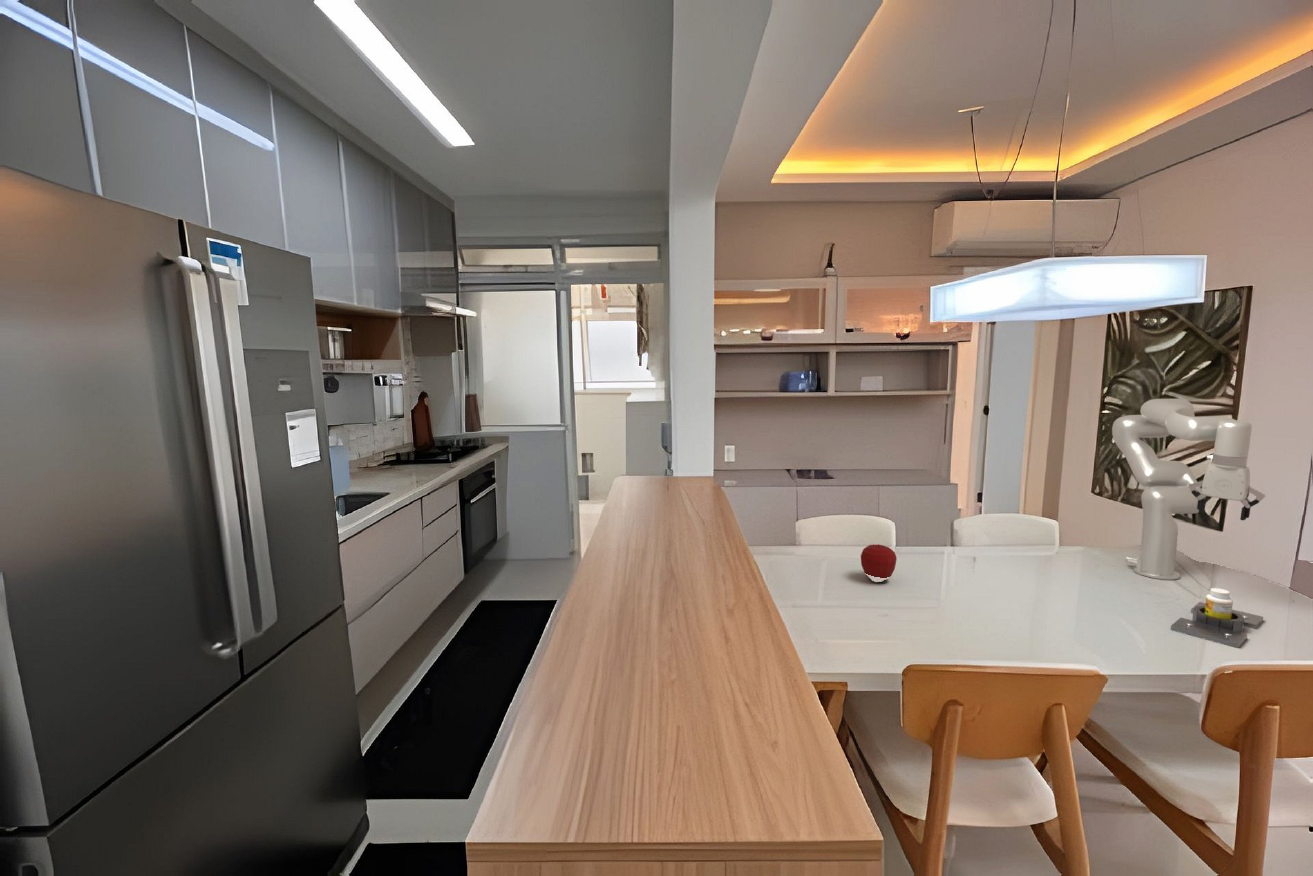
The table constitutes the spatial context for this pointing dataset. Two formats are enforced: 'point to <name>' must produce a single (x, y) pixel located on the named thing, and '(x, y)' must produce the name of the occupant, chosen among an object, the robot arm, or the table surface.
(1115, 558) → the table surface
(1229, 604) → the supplement bottle
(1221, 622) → the ring mounting bracket
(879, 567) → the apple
